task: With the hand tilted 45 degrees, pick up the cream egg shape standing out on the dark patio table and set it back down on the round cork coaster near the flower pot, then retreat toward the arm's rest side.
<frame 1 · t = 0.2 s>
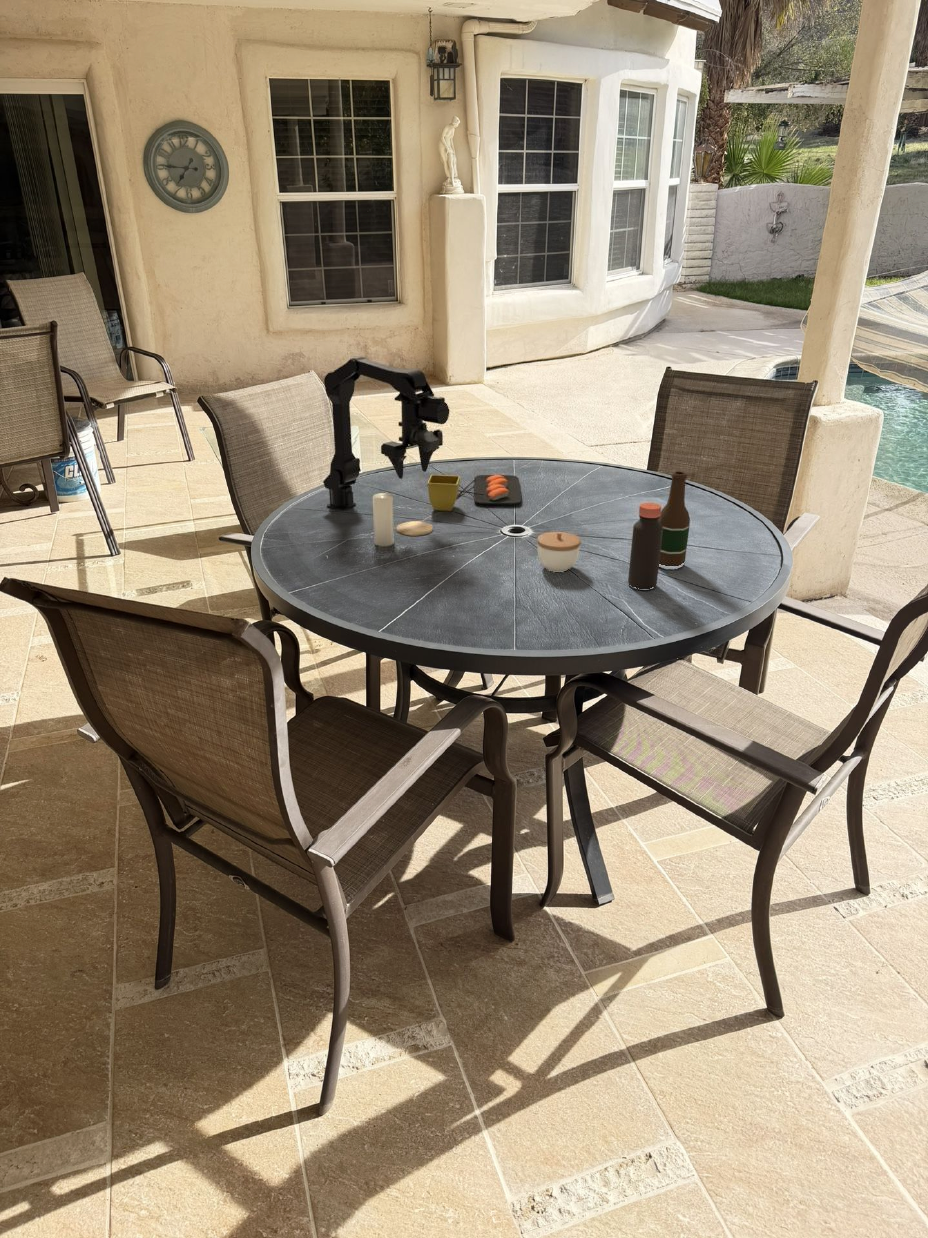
hand: (412, 474, 240), 14 cm above the table, tool pointing down, fingers open, 9 cm apart
cream egg shape: (384, 542, 232), on the table
beer bottle: (668, 565, 219), on the table
cork coaster: (414, 529, 241), on the table
sushi plate: (472, 494, 273), on the table
flower pot: (444, 509, 258), on the table
lidded jar: (557, 568, 217), on the table
vinegar: (641, 586, 207), on the table
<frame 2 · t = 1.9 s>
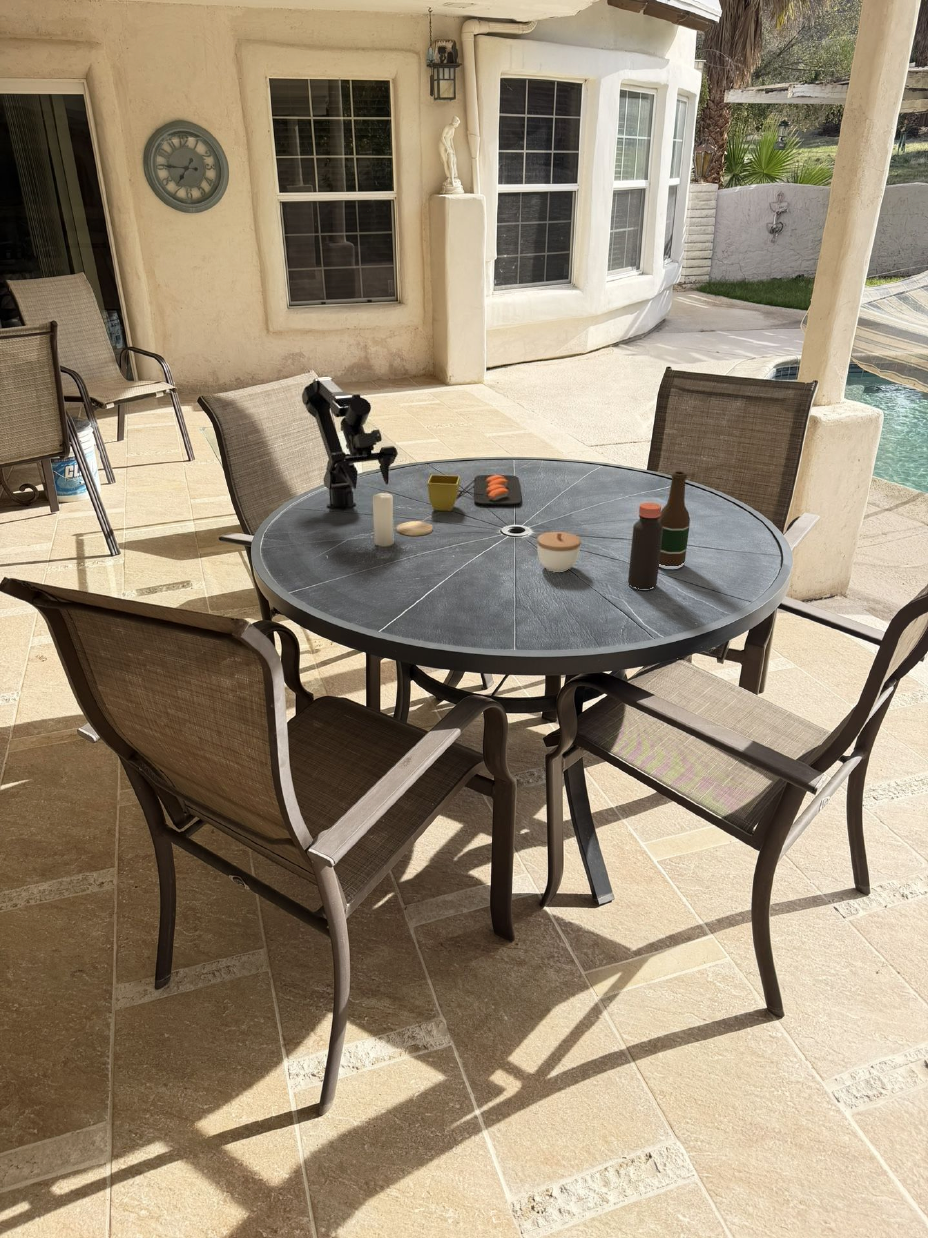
hand: (371, 486, 232), 13 cm above the table, tool tilted 45°, fingers open, 9 cm apart
nothing on the table moved.
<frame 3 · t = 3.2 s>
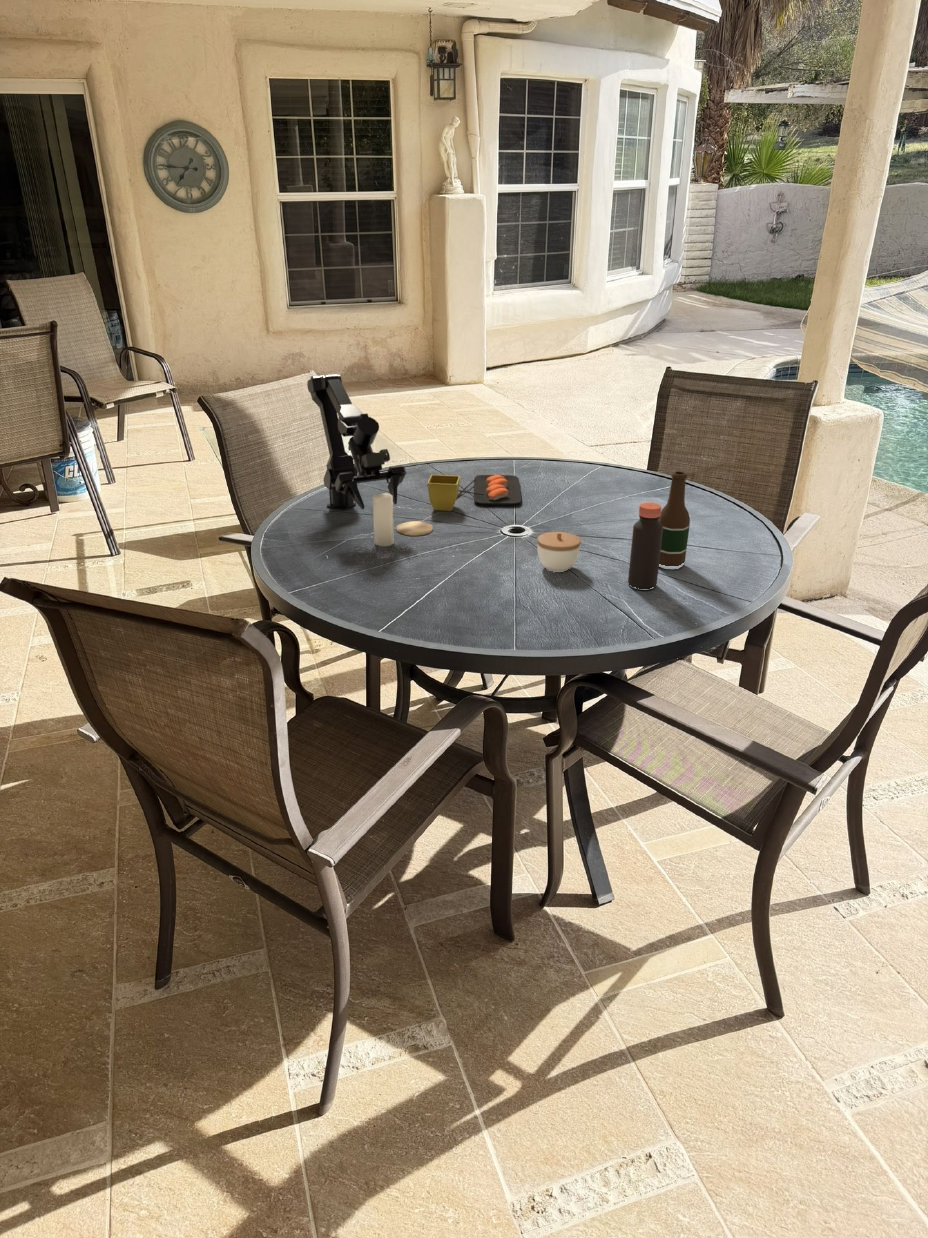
hand: (379, 506, 229), 10 cm above the table, tool tilted 45°, fingers open, 9 cm apart
nothing on the table moved.
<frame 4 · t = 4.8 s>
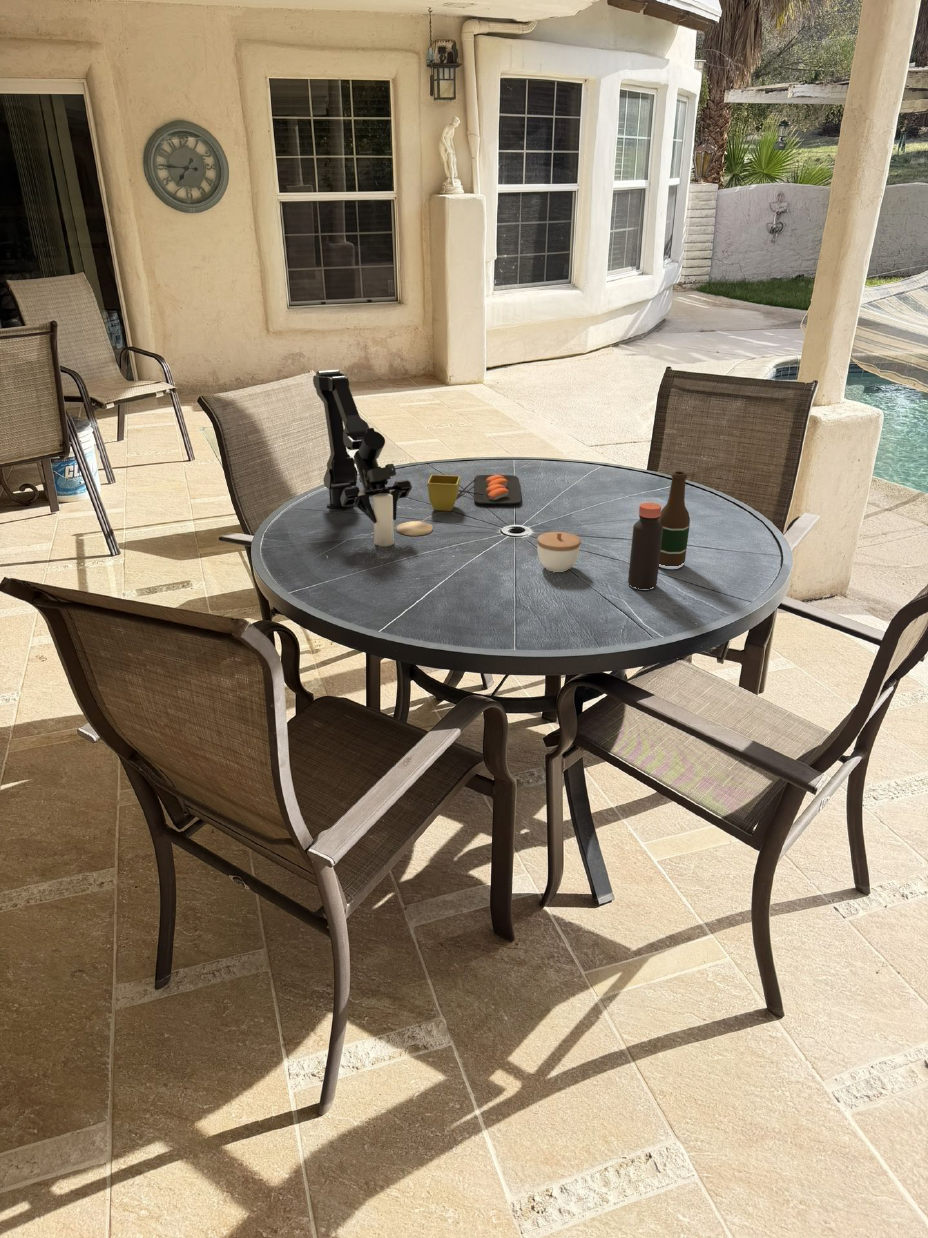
hand: (385, 521, 228), 7 cm above the table, tool tilted 45°, fingers closed on cream egg shape, 5 cm apart
cream egg shape: (384, 542, 232), on the table, touching gripper
everything else where it was.
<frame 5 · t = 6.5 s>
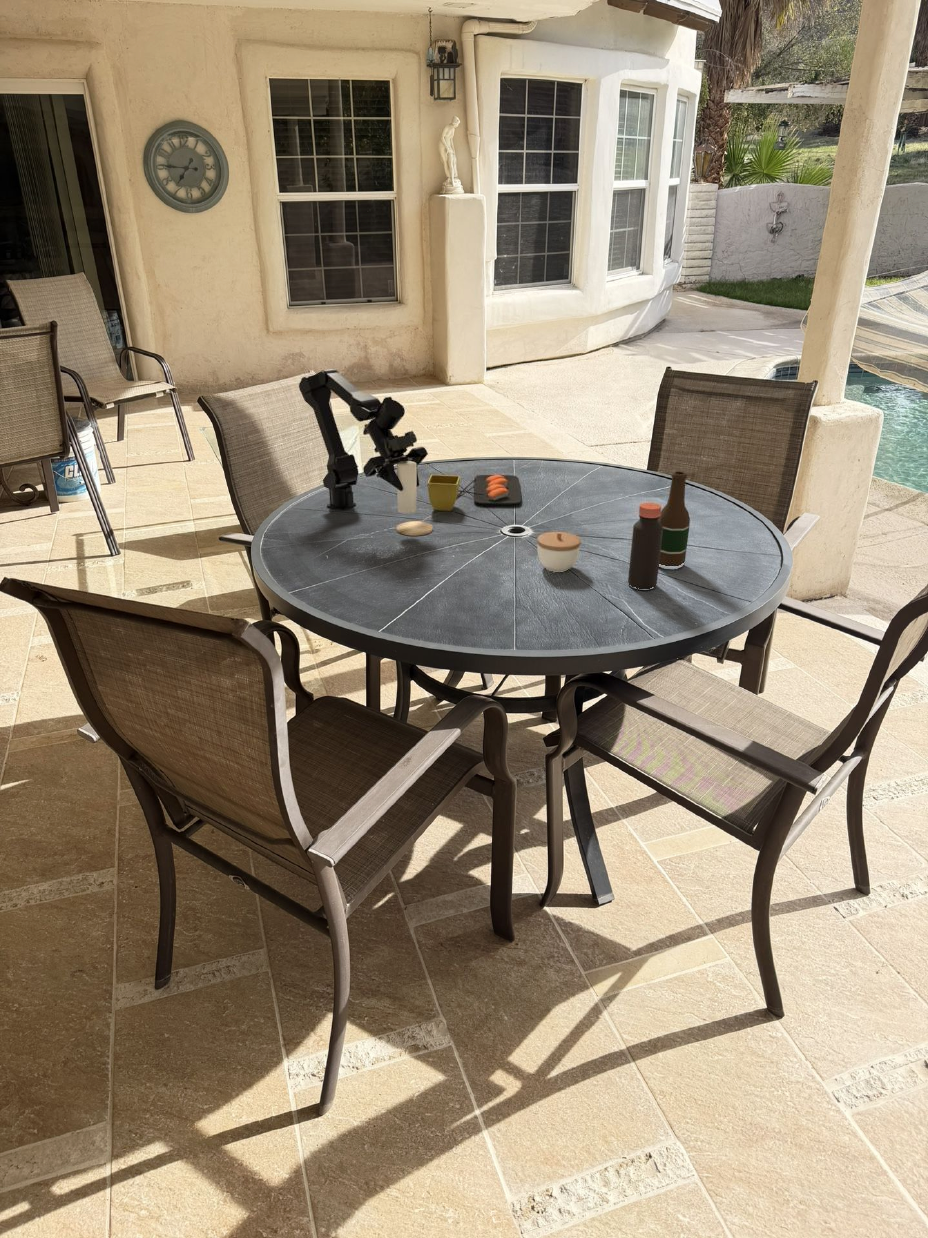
hand: (410, 488, 232), 13 cm above the table, tool tilted 45°, fingers closed on cream egg shape, 5 cm apart
cream egg shape: (407, 510, 236), point 7 cm above the table, touching gripper
everything else where it was.
when the fingers open (8 cm above the table, at t = 8.1 s): cream egg shape stays where it is, resting on cork coaster.
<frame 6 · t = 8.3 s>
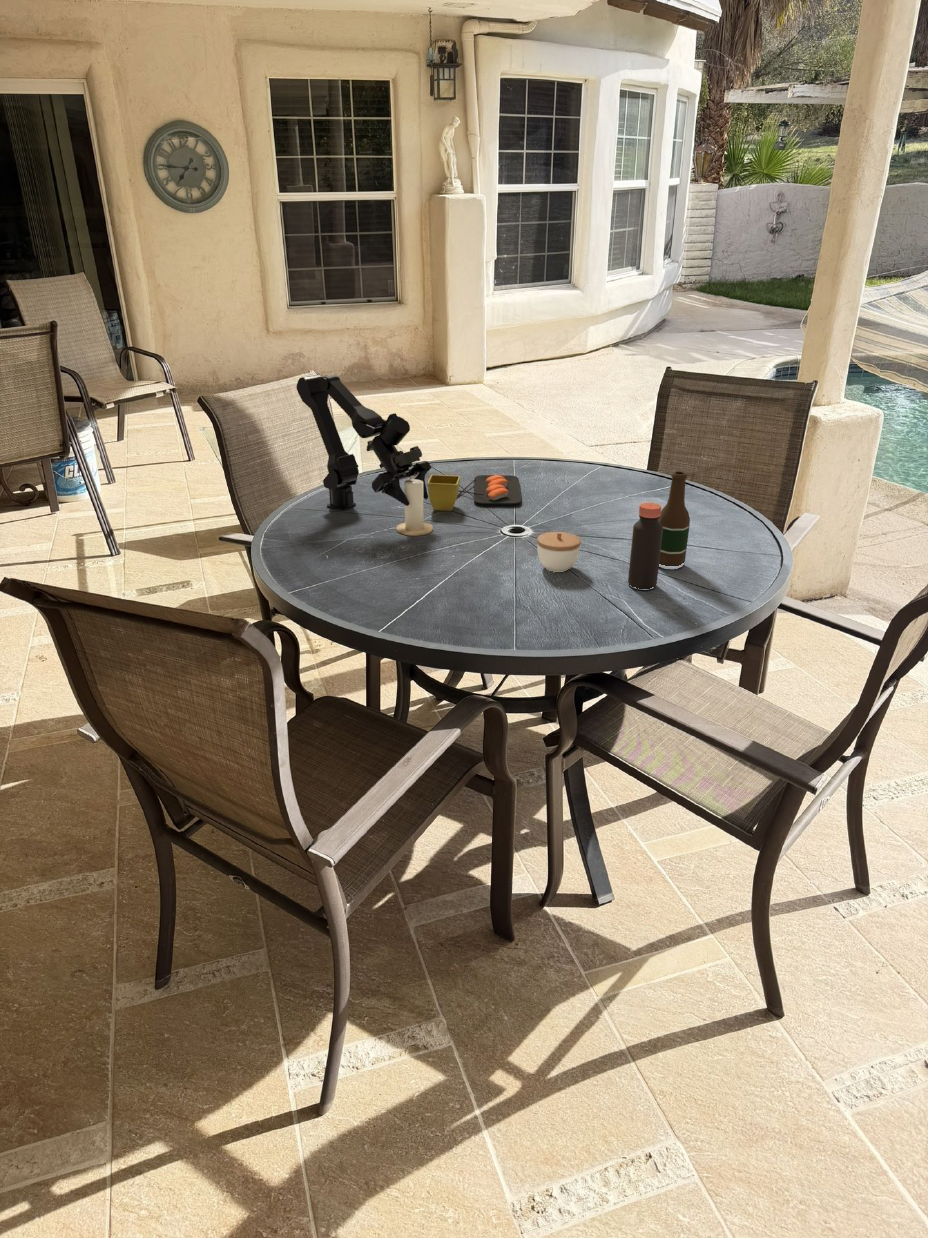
hand: (417, 501, 237), 8 cm above the table, tool tilted 45°, fingers open, 7 cm apart
cream egg shape: (414, 527, 241), point 1 cm above the table, touching cork coaster
everything else where it was.
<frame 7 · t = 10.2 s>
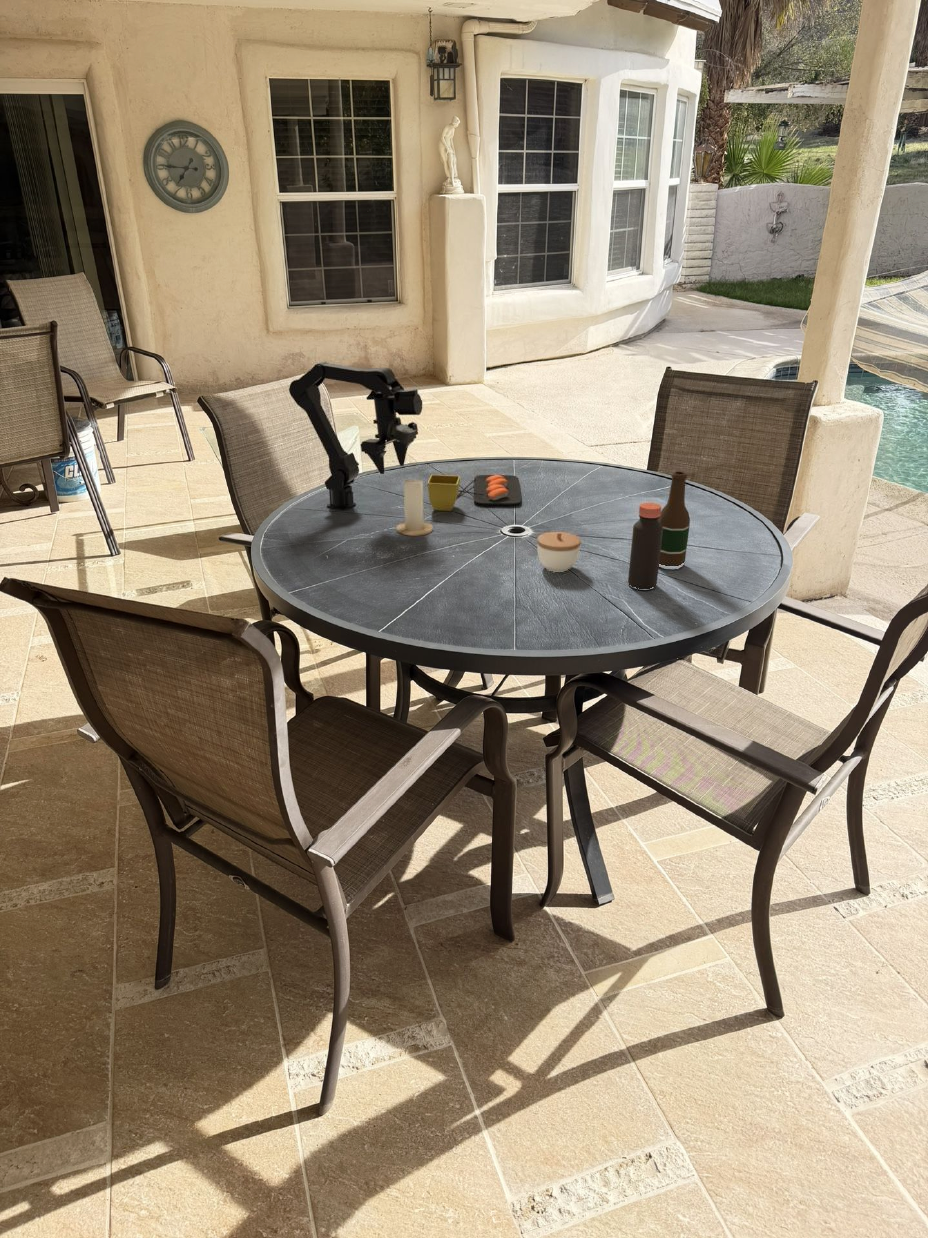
hand: (392, 469, 248), 13 cm above the table, tool pointing down, fingers open, 9 cm apart
nothing on the table moved.
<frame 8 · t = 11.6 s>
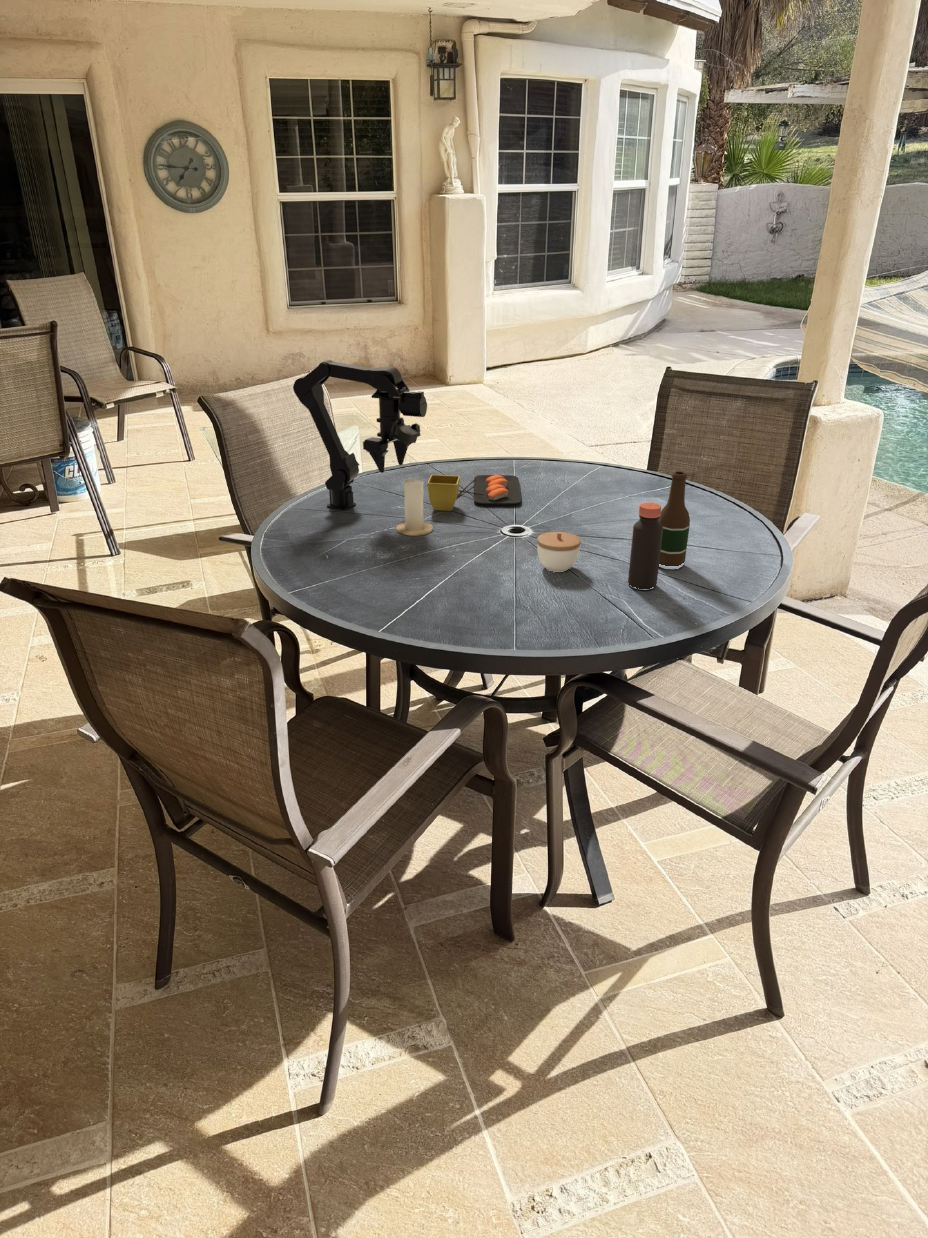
hand: (391, 468, 249), 13 cm above the table, tool pointing down, fingers open, 9 cm apart
nothing on the table moved.
at the end: cream egg shape inside the target area on the cork coaster (0.1 cm from its centre), point 0.6 cm above the cork coaster's base; cream egg shape tilted 0°; the gripper is holding nothing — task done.
